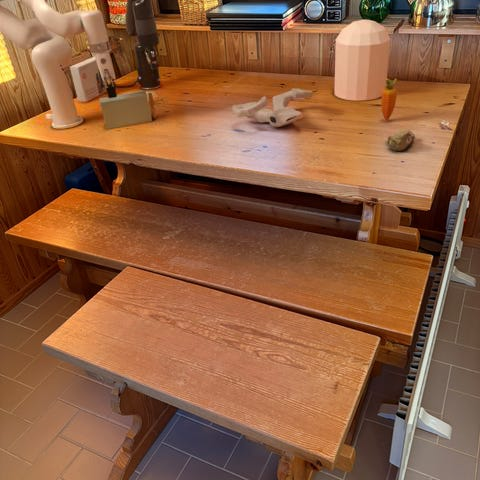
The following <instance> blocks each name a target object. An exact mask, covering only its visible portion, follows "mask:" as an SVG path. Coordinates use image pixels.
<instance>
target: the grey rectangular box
mask: <svg viewBox="0 0 480 480" xmlns="http://www.w3.org/2000/svg"><path fill="white" fill-rule="evenodd" d="M146 91H147V90H143V91H136V92H130V93H123V94H117V97H114V98H109V97H108V96H105V97H99V98H98V99H99V104H100V109H101V112H102V117H103V121H104V124H105V125H104V126H105V128H106V130H109V129H110V130H111V129H116V128H122V127H127V126H133V125H137V124H143V123H150V122H153V118H152V117H153V116H152V111H151V106H150V101H149V96H148V93H147V92H146Z"/></svg>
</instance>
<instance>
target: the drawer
mask: <svg viewBox="0 0 480 480" xmlns="http://www.w3.org/2000/svg"><path fill="white" fill-rule="evenodd" d="M147 96H148V101H149V106H150V111H151V116H152V117H153V119H156V118H157V112H156V106H155V105H162V104H163V105H168V101H167V99H166V97H165V96H164V97H162V98H160V99H155V100H154V96H153V94H152V92H147Z"/></svg>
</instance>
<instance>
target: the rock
mask: <svg viewBox="0 0 480 480" xmlns="http://www.w3.org/2000/svg"><path fill="white" fill-rule="evenodd" d="M415 139H416V135H415V134H414V132H412V131H411V130H408V129H407V130H404V131H398V132H396V133H394V134H393V135H392V134H391V135H389V136H388V137H387V143H388V145H387V146H388V147H389V149H391V150H392V151H395V152H404V151H406V150H407V148H409V145H410V144H411V143H412V142H413V141H414V140H415Z"/></svg>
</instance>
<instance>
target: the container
mask: <svg viewBox="0 0 480 480" xmlns="http://www.w3.org/2000/svg"><path fill="white" fill-rule="evenodd" d="M335 38H336V39H335V47H334V49H335V52H334V53H335V55H334V87H333V89H334V94H333V95H334V96H335V97H337V98H339V99H342V100H345V101H357V102H358V101H370V100H375V99H378V98H382V91H383V90H384V89H386V88H387V87H386V85H387V83H386V79H388V71H389V70H388V69H389V68H388V67H389V58H390V48H391V37H390V35H389V33H388V31H387V29H386V28H385V26H384V25H382V24H380V23H379V22H377V21H375V20H371V19H359V20H354V21H352V22H351V23H349V24H348V25H347V26H345V27H344V28H342V29H341V31H340V32H339V34H338V35H337V37H335Z"/></svg>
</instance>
